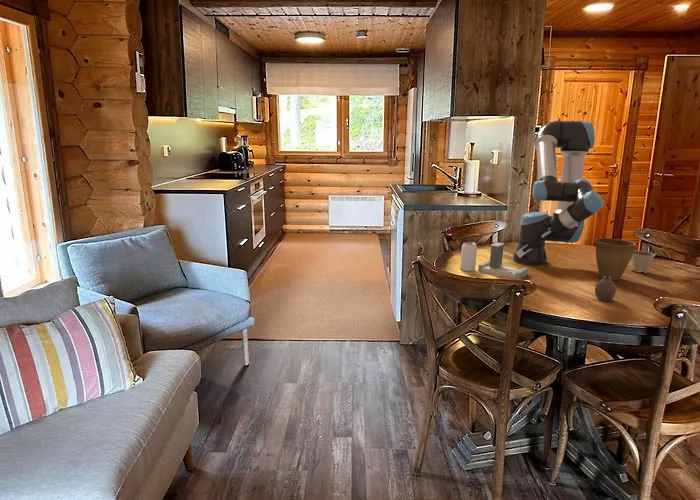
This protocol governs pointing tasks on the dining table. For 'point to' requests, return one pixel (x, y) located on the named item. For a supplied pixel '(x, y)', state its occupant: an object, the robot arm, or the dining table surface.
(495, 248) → the fader tab
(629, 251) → the plant pot
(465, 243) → the can
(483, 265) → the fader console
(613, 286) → the vase
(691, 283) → the dining table surface
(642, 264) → the flower pot
